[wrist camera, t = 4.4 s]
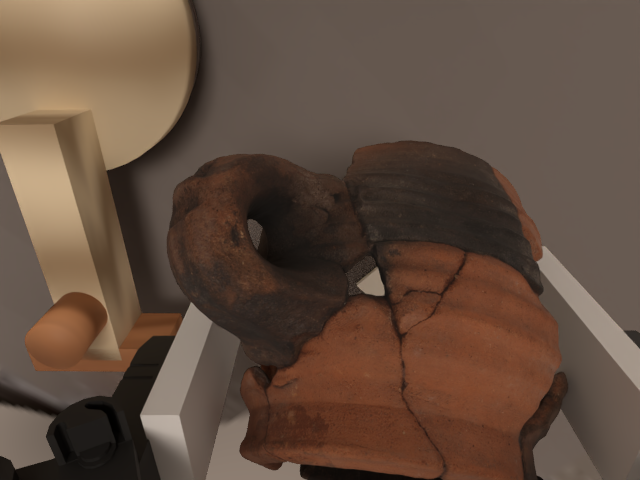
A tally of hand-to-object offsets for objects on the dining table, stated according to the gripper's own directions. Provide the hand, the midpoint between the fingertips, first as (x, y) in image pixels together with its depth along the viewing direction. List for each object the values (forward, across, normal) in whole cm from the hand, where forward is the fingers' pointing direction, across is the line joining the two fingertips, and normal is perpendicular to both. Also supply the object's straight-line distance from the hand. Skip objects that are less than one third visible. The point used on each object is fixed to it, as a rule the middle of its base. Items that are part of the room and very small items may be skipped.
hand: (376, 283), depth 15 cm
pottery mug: (0, 0, +1) cm, 1 cm away
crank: (+9, -13, +2) cm, 16 cm away
